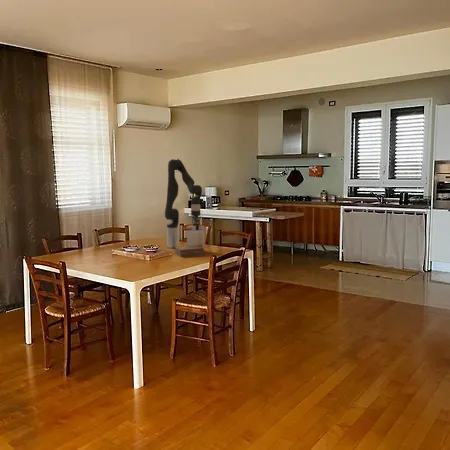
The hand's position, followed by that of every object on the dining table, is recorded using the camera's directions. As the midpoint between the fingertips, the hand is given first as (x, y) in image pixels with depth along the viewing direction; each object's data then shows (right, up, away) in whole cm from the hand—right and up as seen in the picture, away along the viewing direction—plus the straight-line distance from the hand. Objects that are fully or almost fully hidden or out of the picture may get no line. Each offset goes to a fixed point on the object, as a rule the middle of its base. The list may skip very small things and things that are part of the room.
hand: (195, 229), depth 389 cm
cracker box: (0, -18, +2) cm, 18 cm away
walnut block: (-5, -20, -13) cm, 24 cm away
